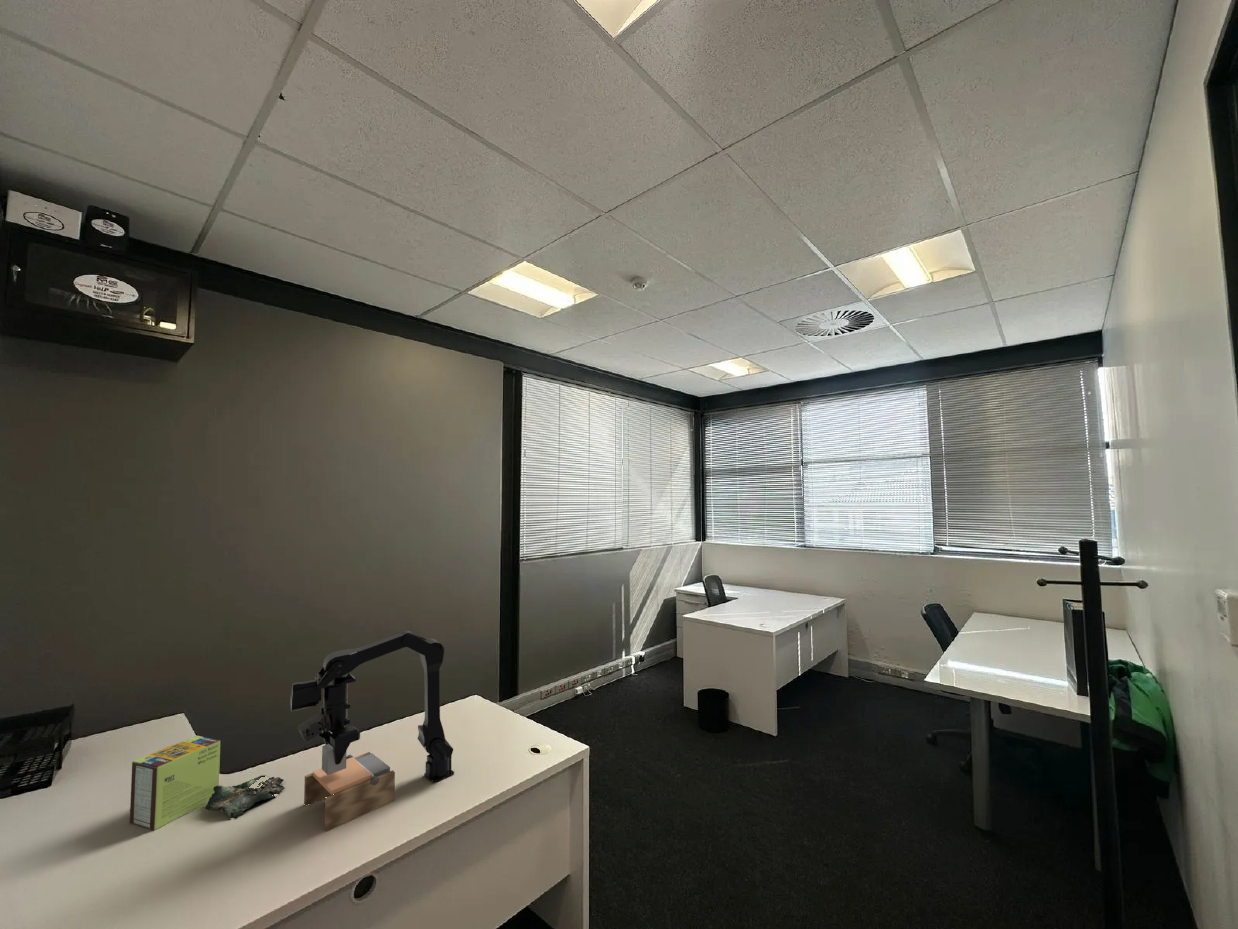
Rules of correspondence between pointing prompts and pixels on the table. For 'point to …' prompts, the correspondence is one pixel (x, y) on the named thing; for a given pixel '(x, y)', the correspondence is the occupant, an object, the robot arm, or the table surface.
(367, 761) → the trapdoor
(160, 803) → the protein box
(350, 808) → the trapdoor frame
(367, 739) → the table surface
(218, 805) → the decorative rock
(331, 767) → the stone
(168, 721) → the table surface
